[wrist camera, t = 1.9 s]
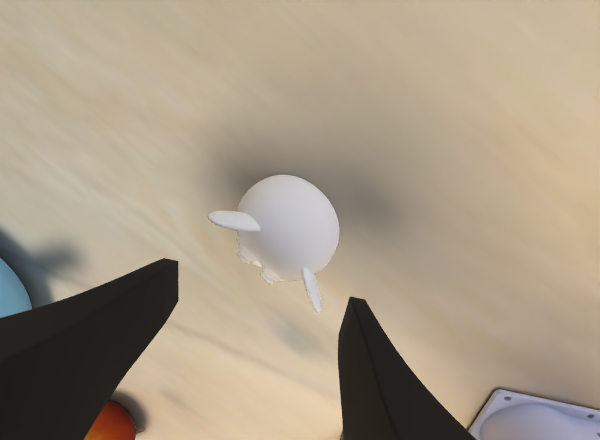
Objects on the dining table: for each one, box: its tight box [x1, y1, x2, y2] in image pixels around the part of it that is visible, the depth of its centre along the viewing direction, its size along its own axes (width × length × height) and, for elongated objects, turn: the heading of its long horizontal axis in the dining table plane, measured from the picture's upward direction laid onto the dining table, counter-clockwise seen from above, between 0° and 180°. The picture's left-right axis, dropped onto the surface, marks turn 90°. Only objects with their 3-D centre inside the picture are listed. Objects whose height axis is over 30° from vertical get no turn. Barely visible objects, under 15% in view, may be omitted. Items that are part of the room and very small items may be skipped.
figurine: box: [208, 175, 340, 313], centre depth 17 cm, size 8×6×7 cm
